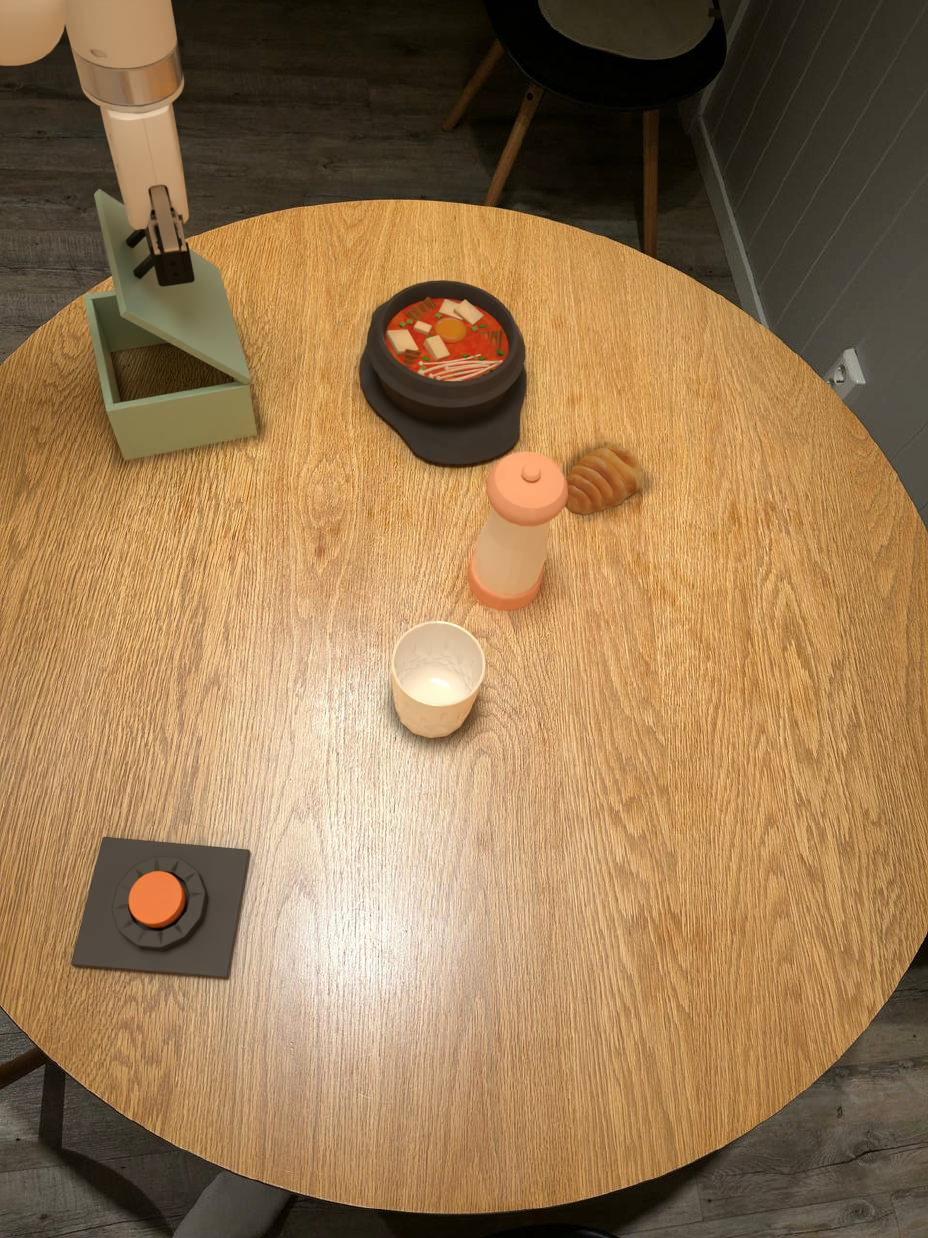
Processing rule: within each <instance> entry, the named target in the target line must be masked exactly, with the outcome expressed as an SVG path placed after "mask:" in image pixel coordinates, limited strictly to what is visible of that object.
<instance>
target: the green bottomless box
mask: <svg viewBox="0 0 928 1238" xmlns="http://www.w3.org/2000/svg"><path fill="white" fill-rule="evenodd" d="M82 297H83V302H84V307H85V312H86V317H87V322H88V327H89V332H90V338H91V342H92V343H91V344H92V347H93V352H94V353H93V354H94V358H95V363H96V367H97V373H98V377H99V382H100V386H101V387H100V388H101V393H102V397H103V403H104V407H105V412H106V415H107V418H108V421H109V423H110V425H111V428H112V431H113V433H114V436H115V439H116V442H117V445H118V447H119V451H120V453H121V455H122V458H123V460H124V461H130V460H135V459H141V458H145V457H151V456H156V455H161V454H166V453H173V452H177V451H183V450H187V449H192V448H197V447H203V446H209V445H212V444H218V443H219V444H220V443H224V442H228V441H234V440H238V439H239V440H240V439H243V438H249V437H255V436H258V431H257V424H256V423H257V422H256V418H255V412H254V406H253V400H252V399H253V398H252V393H251V386H250V383H249V382H250V381H249V382H248V383H247V384H245V383H243V382H241V381H239V380H237V379H235V378H234V377H232V378H233V381H232V382H226V383H221V384H216V385H211V386H204V387H200V388H198V387H197V388H193V389H187V390H183V391H176V392H172V393H166V394H160V395H154V396H149V397H144V398H138V399H132V400H127V401H121V398H120V397H121V396H120V392H119V389H118V383H117V379H116V374H115V373H116V372H115V368H114V364H113V359H112V354H111V353H114V352H120V351H127V350H134V349H138V348H143V347H151V346H156V345H163V344H169V342H167V341H166V340H164V339H162V338H160V337H158V336H156V335H155V334H153V333H151V332H149V331H147V330H145V329H143V328H142V327H140V326H138V325H136V324H134V323H132V322H131V321H129V320H127V319H125V318H123V317H121V315H120V311H119V306H118V302H117V297H116V293H115V289H109V290H105V291H98V292H97V291H96V292H92V293H91V292H90V293H84V294H83V295H82Z"/></svg>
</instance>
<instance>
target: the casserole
mask: <svg viewBox="0 0 928 1238" xmlns="http://www.w3.org/2000/svg"><path fill="white" fill-rule="evenodd" d="M366 334H367V336H366V345H365V346H364V349H363V352H362V354H361V357H360V361H359V370H358V375H359V381H360V387H361V388H362V391H363V394H364V396H365V399H366V400H367V401H368V403H369V404H370V406H372V408H373V409H374V410H375V412H376V413H378V414H379V415H380V416H381V417H382V418H383V419H384V420H385V421H386V422H387V423H388V424H390V425H391V426H392V427H393V428H394V429H395V430H396V431H398V433H399V435H400V436H401V437H402V438H403V439H404V441H405V442H406V444H407V445H408V446H409V447H410V448H411V450H412V451H413V452H414V454H416V455H417V456H419V457H421V458H422V459H424V460H425V461H429V462H434V463H438V464H443V465H468V464H476V463H480V462H484V461H489V460H491V459H493V458H496V457H498V456H500V455H503V454H504V453H506V452H507V451H509V450H510V449H512V448H513V447H514V446H515V444H516V443H517V442H518V439H519V438H520V433H521V432H520V431H521V430H520V429H521V410H522V405H523V402H524V398H525V396H526V395H525V394H526V391H527V387H528V383H527V382H528V380H527V371H526V367H525V360H526V344H525V340H524V336H523V334H522V331H521V330H520V328H519V326H518V324H517V322H516V320H515V318H514V316H513V315H512V313H511V312H510V310H509V308H508V307H506V305H505V304H504V303H503V302H502V301H501V300H499V299H498V298H497V297H496V296H495V295H493V294H492V293H489V292H488V291H486V290H484V289H483V288H480V287H477V286H475V285H473V284H469V283H466V282H461V281H455V280H445V279H442V280H441V279H440V280H439V279H438V280H428V281H427V280H426V281H424V282H423V281H422V282H418V283H415V284H412V285H409V286H407V287H404V288H403V289H402V290H400V291H398V292H396V293H395V294H393V296H391V298H390V299H389V300H387V301H385V302H383V303H381V304H380V305H378V306H377V307H376V309H375V310H374V311H373V313H371V319H370V323H369V328H368V330H367V333H366Z"/></svg>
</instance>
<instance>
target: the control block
mask: <svg viewBox="0 0 928 1238" xmlns="http://www.w3.org/2000/svg"><path fill="white" fill-rule="evenodd" d="M251 854H252V853H251V851H250V849H248V848H247V849H246V848H236V847H225V846H212V845H204V844H203V845H201V844H191V843H178V842H169V841H157V840H145V839H133V838H122V837H112V836H111V837H110V836H102V837H101V842H100V846H99V850H98V854H97V858H96V862H95V865H94V870H93V874H92V878H91V883H90V886H89V891H88V894H87V898H86V901H85V905H84V909H83V915H82V918H81V921H80V927H79V930H78V934H77V938H76V942H75V946H74V950H73V953H72V958H71V962H70V965H71V966H73V967H75V968H86V969H99V970H111V971H123V972H135V973H145V974H147V973H148V974H160V975H171V976H183V977H185V976H186V977H197V978H209V979H219V980H220V979H223V980H229V979H230V977H231V976H230V975H231V969H232V965H233V959H234V958H233V957H234V951H235V945H236V941H237V935H238V929H239V924H240V917H241V912H242V906H243V900H244V894H245V890H246V889H245V888H246V883H247V877H248V870H249V865H250V860H251V856H252V855H251ZM154 871H164V872H167V873H170V874H171V875H173V876H174V877H175V878H176V879H177V880H178V881H179V882H180V884H181V885H182V886H183V888H184V891H185V895H186V902H185V906H184V909H183V911H182V913H181V914H180V916H179V917H178V918H177V919H176V920H175V921H174V922H173V923H171V924H169V925H167V926H165V927H160V928H152V927H148V926H146V925H144V924H142V923H141V922H140V921H138V920H137V919H136V918H135V917H134V916H133V915H132V913H131V911H130V908H129V902H128V901H129V894H130V891H131V889H132V887H133V885H134V884H135V882H136V881H137V880H138V879H139V878H141V877H142V876H144V875H145V874H147V873H150V872H154Z"/></svg>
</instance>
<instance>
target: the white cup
mask: <svg viewBox="0 0 928 1238" xmlns="http://www.w3.org/2000/svg"><path fill="white" fill-rule="evenodd" d="M390 661H391V663H390V664H391V683H392V685H391V686H392V695H393V701H394V708H395V710H396V714H397V716H398V719H399V721H400V723H401V724H402V725H404V726H405V728H407V729H408V730H409V731H410V732H411V733H413V734H414V735H417V736H420V737H424V738H428V739H434V738H440V737H441V738H442V737H447V736H449V735H451V734H452V733H453V732H456V730H458V729H459V728H461V727H462V725H463V723H464V722H465V720H466V719H467V717H468V716H469V714H470V712H471V710H472V707H473V705H474V703H475V700H476V699H477V696H478V693H479V691H480V688H481V685H482V683H483V680H484V677H485V674H486V656H485V653H484V650H483V647H482V646H481V644H480V643H479V640H477V638H476V637H475V636H474V635H473V634H472V633H471V632H470V631H469V630H467V629H466V628H464V627H462V626H460V625H458V624H455V623H453V622H449V621H444V620H429V621H425V622H422V623H419V624H416V625H414V626H412V627H410V628H409V629H407V631H405V632H404V633H403V634H402V635H401V636H400V637H399V639H398V640H397V642H396V643H395V645H394V648H393V650H392V654H391V660H390Z"/></svg>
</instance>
